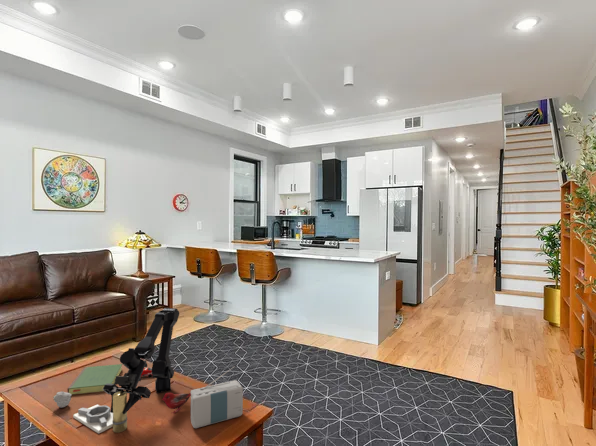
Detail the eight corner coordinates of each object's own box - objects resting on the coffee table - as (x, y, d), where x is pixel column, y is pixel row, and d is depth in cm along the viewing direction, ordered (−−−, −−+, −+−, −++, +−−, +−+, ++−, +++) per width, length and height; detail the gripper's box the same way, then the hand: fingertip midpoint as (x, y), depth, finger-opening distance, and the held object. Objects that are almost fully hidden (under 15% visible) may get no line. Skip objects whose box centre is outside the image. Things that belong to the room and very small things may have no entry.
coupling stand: (97, 407, 158) (97, 398, 158) (123, 421, 147) (122, 412, 147) (73, 417, 150) (73, 408, 150) (98, 433, 139) (98, 424, 139)
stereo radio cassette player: (193, 431, 141) (193, 381, 140) (189, 421, 148) (189, 373, 148) (243, 417, 151) (243, 371, 150) (237, 408, 158) (237, 364, 158)
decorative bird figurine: (160, 417, 151) (160, 393, 150) (196, 401, 164) (196, 379, 164) (163, 419, 149) (163, 396, 148) (199, 403, 162) (199, 381, 162)
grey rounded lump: (51, 407, 157) (51, 392, 157) (69, 401, 163) (69, 386, 163) (55, 412, 153) (55, 396, 153) (73, 406, 159) (73, 390, 158)
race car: (128, 380, 185) (128, 372, 185) (131, 375, 190) (131, 368, 190) (155, 377, 188) (155, 370, 188) (157, 373, 193) (157, 365, 193)
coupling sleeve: (127, 423, 146) (127, 389, 145) (127, 430, 141) (127, 395, 141) (112, 427, 143) (112, 392, 143) (112, 434, 139) (112, 398, 138)
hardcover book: (84, 374, 192) (84, 367, 192) (122, 370, 197) (122, 363, 197) (66, 397, 168) (66, 389, 168) (110, 392, 172) (110, 384, 172)
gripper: (105, 364, 147) (85, 404, 136) (146, 367, 144) (130, 408, 133) (118, 374, 155) (100, 413, 144) (157, 378, 152) (142, 417, 141)
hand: (117, 413), depth 141 cm, fingers closed on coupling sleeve, 5 cm apart
